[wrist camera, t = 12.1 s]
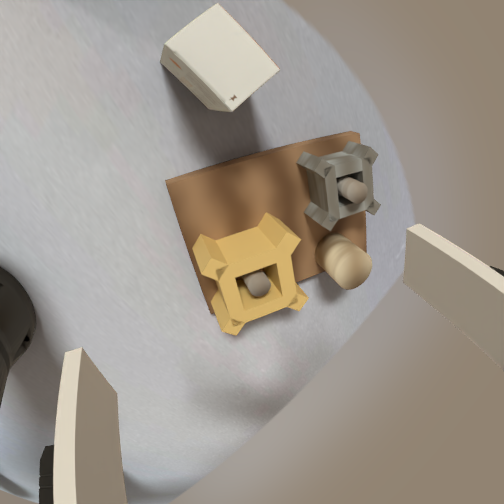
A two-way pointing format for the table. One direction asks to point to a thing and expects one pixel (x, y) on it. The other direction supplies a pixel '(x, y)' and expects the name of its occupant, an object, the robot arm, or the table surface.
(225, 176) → the board
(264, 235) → the tan notched block
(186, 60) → the small box
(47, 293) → the table surface
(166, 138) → the table surface
